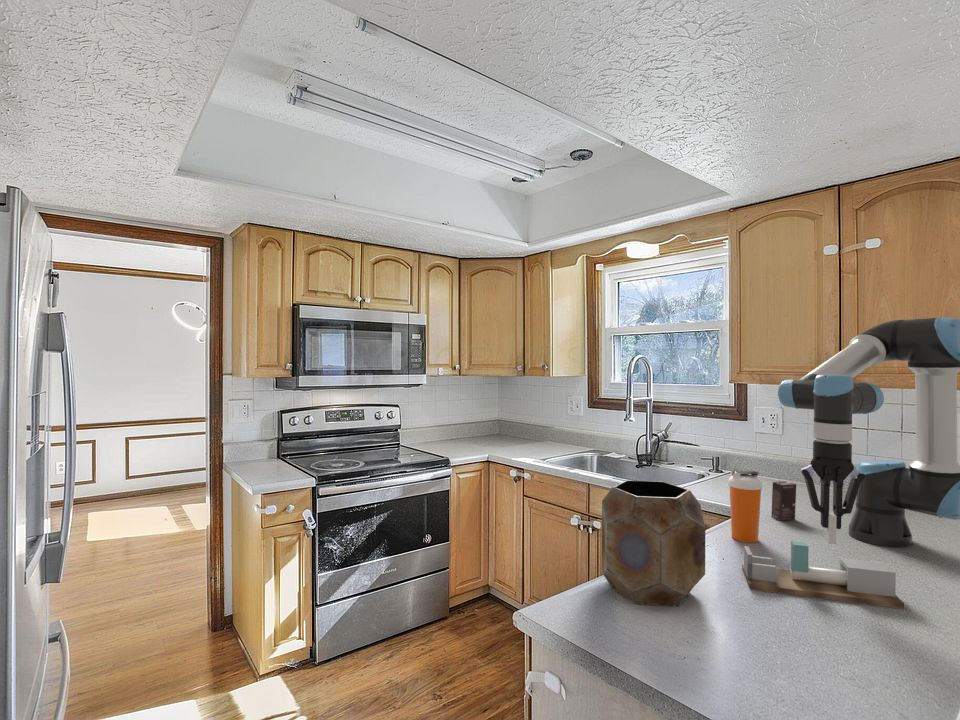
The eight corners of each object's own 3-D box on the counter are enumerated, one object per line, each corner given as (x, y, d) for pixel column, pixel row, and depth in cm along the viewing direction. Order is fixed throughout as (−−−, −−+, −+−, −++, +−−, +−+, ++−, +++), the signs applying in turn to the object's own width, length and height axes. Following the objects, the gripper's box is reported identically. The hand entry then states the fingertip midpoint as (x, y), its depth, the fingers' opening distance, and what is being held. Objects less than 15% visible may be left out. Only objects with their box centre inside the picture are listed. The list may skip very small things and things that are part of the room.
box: (781, 521, 173) (782, 484, 173) (771, 517, 177) (771, 481, 177) (796, 519, 175) (797, 483, 174) (785, 515, 179) (785, 480, 179)
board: (882, 585, 125) (882, 580, 125) (904, 609, 114) (904, 603, 114) (742, 569, 135) (742, 564, 135) (749, 589, 123) (749, 583, 123)
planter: (579, 579, 129) (579, 482, 128) (659, 564, 138) (659, 473, 138) (638, 622, 108) (639, 507, 108) (727, 601, 117) (728, 495, 117)
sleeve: (884, 585, 122) (885, 562, 122) (895, 596, 117) (895, 572, 117) (839, 580, 125) (839, 557, 125) (847, 591, 120) (848, 567, 120)
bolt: (887, 587, 121) (887, 550, 121) (892, 593, 118) (893, 555, 118) (790, 575, 127) (790, 540, 127) (793, 581, 124) (794, 545, 124)
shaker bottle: (765, 544, 152) (766, 475, 152) (732, 542, 154) (733, 474, 153) (756, 534, 161) (756, 468, 160) (724, 532, 162) (725, 467, 162)
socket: (770, 572, 130) (771, 548, 130) (775, 582, 124) (776, 557, 124) (743, 569, 132) (744, 546, 132) (747, 578, 126) (747, 554, 126)
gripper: (859, 440, 124) (857, 540, 124) (796, 436, 129) (794, 533, 129) (871, 445, 117) (869, 551, 117) (804, 441, 121) (802, 543, 122)
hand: (830, 541), depth 123 cm, fingers closed
